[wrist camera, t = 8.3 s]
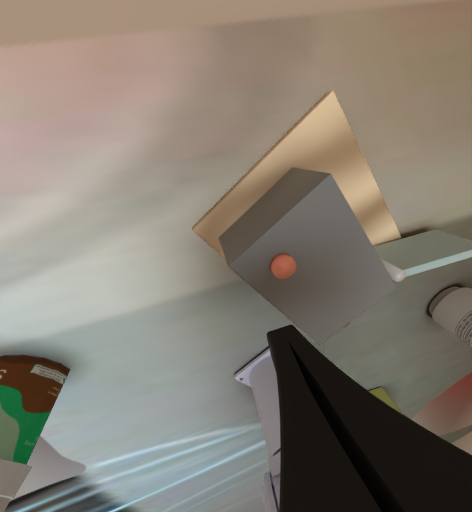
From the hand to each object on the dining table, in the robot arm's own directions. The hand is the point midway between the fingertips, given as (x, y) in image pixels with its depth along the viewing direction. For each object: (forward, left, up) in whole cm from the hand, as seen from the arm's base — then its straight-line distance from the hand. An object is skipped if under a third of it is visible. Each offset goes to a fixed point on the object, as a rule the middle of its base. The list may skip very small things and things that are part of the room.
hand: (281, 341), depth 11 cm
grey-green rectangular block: (-11, -12, -9) cm, 19 cm away
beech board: (-5, -6, -10) cm, 12 cm away
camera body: (-3, -4, -9) cm, 11 cm away
